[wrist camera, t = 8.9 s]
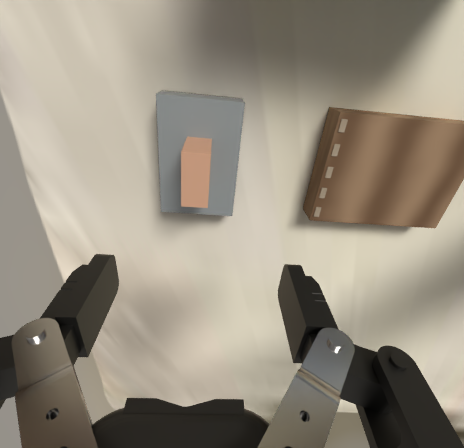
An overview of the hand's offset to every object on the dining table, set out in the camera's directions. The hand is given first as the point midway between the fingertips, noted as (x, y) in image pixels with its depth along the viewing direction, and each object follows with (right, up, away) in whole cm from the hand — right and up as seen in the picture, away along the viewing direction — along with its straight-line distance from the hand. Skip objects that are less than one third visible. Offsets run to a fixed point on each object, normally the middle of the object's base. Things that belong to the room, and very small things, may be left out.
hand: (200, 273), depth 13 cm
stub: (-2, +10, +17) cm, 20 cm away
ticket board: (+19, +9, +19) cm, 29 cm away
